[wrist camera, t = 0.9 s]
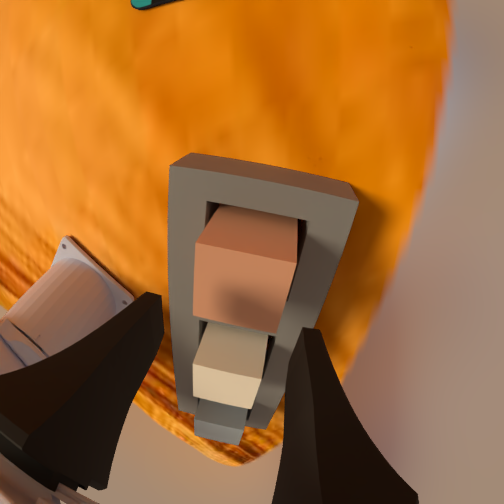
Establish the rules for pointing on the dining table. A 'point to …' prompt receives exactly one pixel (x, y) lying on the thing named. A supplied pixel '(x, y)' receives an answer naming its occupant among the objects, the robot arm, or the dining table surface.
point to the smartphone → (147, 3)
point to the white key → (229, 365)
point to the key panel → (305, 275)
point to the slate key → (219, 421)
